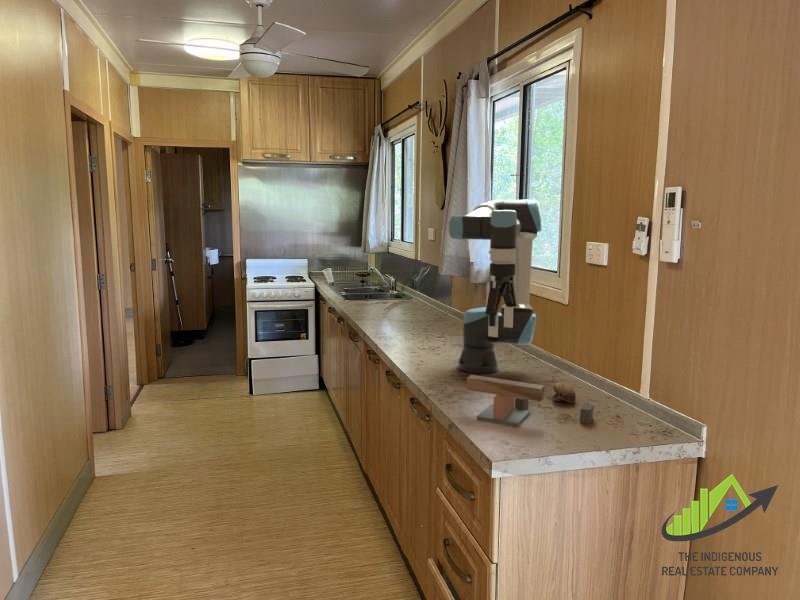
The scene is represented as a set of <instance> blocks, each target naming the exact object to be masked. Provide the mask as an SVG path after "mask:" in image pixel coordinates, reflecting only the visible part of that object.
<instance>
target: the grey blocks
mask: <svg viewBox="0 0 800 600" xmlns="http://www.w3.org/2000/svg"><path fill="white" fill-rule="evenodd" d="M514 408H516V409H522V410H527V409H528V408H529V400H528V399H522V398H515V402H514ZM579 414H580V415H579V423H583V424H588V425H589V424H591V422H592V421H593V418H594V404H589V403H583V404H582V406H581V408H580V413H579Z"/></svg>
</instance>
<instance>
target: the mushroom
mask: <svg viewBox="0 0 800 600" xmlns="http://www.w3.org/2000/svg"><path fill="white" fill-rule="evenodd" d="M553 391H554V394H552V395H551V397H552V399H553V400H554V401H555V402H561V401H565V402H567V403H569V404H573V403H574V402H575V400H576V398H577V397H576V396H577V394H576V392H575V390H574V388H573V387H572V386H571V385H570V384H568V383H566V382H564V381H563V382H562V381H560V382H556V383H554V385H553Z"/></svg>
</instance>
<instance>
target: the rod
mask: <svg viewBox="0 0 800 600" xmlns="http://www.w3.org/2000/svg"><path fill="white" fill-rule="evenodd" d="M545 387H546V385H543V384H535V383H530V382H529V383H528V382H522V381H515V380H509V379H503V378H502V379H501V378H496V377H495V378H494V377H489V376H483V375H475V374H474V375H473V374H470V375H469V376H468V377H466V391H467V390H468V391H472V392H473V391H474V392H480V393H485V394H492V395H503V396H509V397H515V398H522V399H528V401H535V402H543V400H544V399H545V391H546V389H545Z"/></svg>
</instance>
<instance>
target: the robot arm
mask: <svg viewBox="0 0 800 600" xmlns="http://www.w3.org/2000/svg"><path fill="white" fill-rule="evenodd" d="M541 231H542V216H541V209H540V202H538V201H537V200H536V199H527V198H526V199H496V200H490V201H487V202H484V203H481V204H480V205H477V206H476V207H474V208H473V210H472V211H471V212H469V213H467V214H466V215H460V214H459V215H452V216H451V217H450V218H449V222H448V234H449V237H450V238H451V239H452V240H459V241H461V240H483V241H484V240H487V241H488V240H489V241H490V245H489V246H490V249H489V251H488V254H489V255H490V256H489V261H490V262H491V263H490V264H489V275H490V276H492V277H494V280H490V284H489V292H488V298H487V301H486V302H487V303H486V306H485V307H484V306H483V307H476V308H475V307H474V308H470V309H468V310H466V311H465V312H464V315H463V321H462V323H463V340H462V341H463V342H462V343H463V345H462V346H463V347H462V350H461V353H460V357H459V359H458V363H457V367H458V369H459V370H460V371H462V370H463V371H462V372H465V371H466V373H470V374H490V373H494V372H495V373H496V372H497V371H498V370H499V362H498V358H497V355H496V352H495V343H496V344H507V345H518V346H519V345H523V346H524V345H530V344H531V343H532V341H533V339H534V335H535V331H536V324H537V319H538V318H537V314H536V313H534V308H533V307H532V306H531V305H530V295H531V293H530V292H531V275H532V273H531V272H532V259H533V255H532V254H533V241H534V240H535V239H536V238H537V237H538V232H541ZM502 298H503V302H504V304H503V305H502V306H501V307H500V304H501V301H502ZM499 308H501V309H500V311H499Z"/></svg>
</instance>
